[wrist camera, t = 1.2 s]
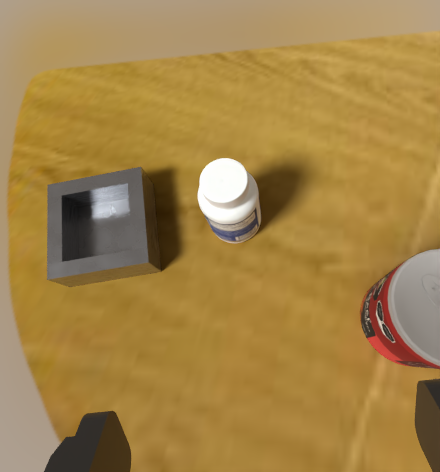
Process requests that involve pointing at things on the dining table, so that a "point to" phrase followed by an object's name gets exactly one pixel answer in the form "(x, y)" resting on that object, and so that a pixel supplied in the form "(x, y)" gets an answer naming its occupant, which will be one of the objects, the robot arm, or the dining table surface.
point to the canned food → (406, 312)
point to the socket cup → (102, 228)
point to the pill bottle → (229, 200)
